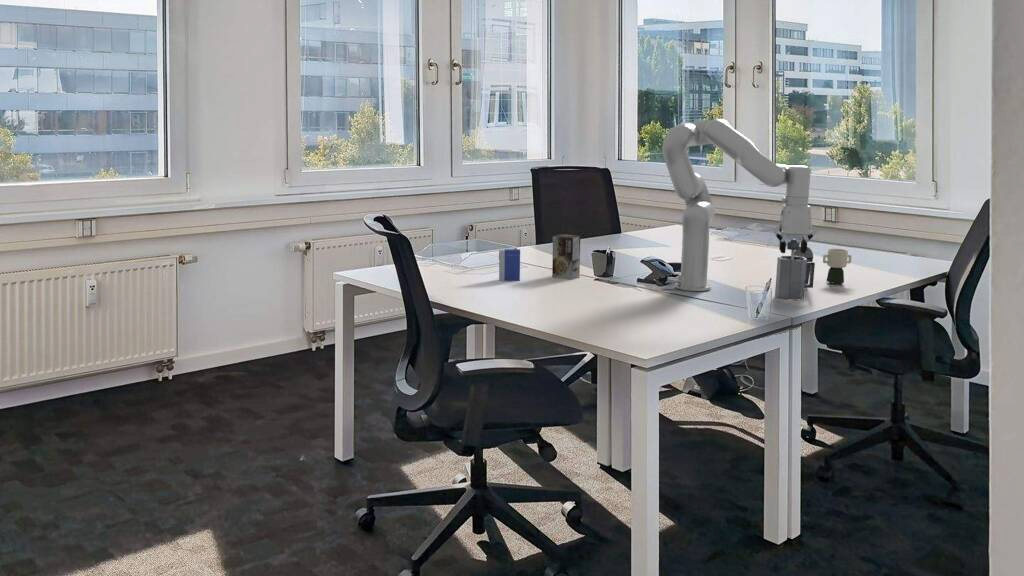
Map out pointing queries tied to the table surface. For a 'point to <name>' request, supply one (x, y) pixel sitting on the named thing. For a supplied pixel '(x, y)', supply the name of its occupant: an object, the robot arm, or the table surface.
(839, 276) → the character mug
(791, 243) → the plunger
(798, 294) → the carafe
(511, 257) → the walkman
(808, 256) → the beverage cup
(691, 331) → the table surface
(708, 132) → the robot arm
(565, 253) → the coffee box
